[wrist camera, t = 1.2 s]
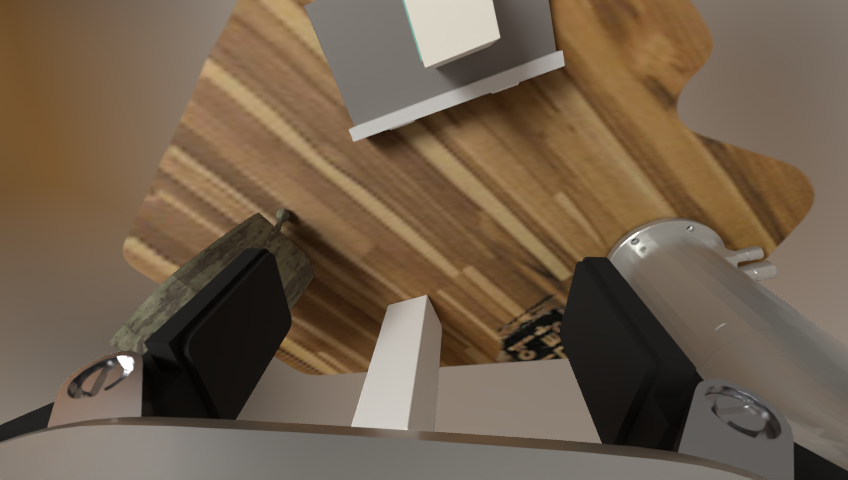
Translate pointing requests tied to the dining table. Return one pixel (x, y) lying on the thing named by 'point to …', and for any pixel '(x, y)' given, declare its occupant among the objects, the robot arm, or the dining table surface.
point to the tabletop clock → (209, 265)
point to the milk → (403, 370)
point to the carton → (451, 28)
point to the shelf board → (404, 71)
